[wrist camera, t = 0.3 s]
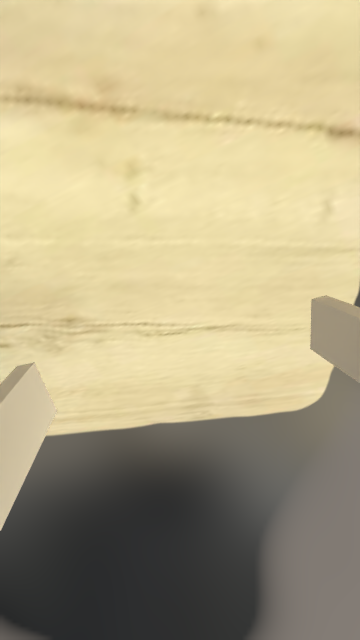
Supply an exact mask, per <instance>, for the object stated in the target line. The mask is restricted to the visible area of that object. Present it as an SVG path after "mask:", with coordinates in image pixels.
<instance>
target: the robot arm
mask: <svg viewBox="0 0 360 640" xmlns="http://www.w3.org/2000/svg"><path fill="white" fill-rule="evenodd" d="M310 349H311V350H313V351H314V352H316V353H317V354H319V355H320V356H321V357H323V358H324V359H326V360H327V361H329V362H330V363H331V364H333V365H334V366H336V367H337V368H339V369H340V370H341V371H343V372H344V373H346V374H347V375H349V376H350V377H351V378H353V379H354V380H356V381H357V382H359V383H360V307H357V306H354V305H352V304H349V303H346V302H343V301H340V300H337V299H335V298H332V297H329V296H323V297H318V298H314V299H312V302H311V344H310ZM56 412H57V409H56V407H55V405H54V403H53V401H52V399H51V396H50V394H49V392H48V390H47V388H46V386H45V384H44V382H43V380H42V377H41V375H40V373H39V371H38V369H37V367H36V365H35V363H30V364H25V365H21V366H17V367H16V368H15V369H14V370H13V371H12V372H11V373H10V374H9V375H8V376H7V377H6V378H5V380H4V381H3V382H2V383H1V384H0V531H1V528H2V526H3V524H4V522H5V520H6V518H7V515H8V513H9V512H10V509H11V507H12V505H13V503H14V501H15V499H16V497H17V495H18V493H19V490H20V488H21V486H22V484H23V482H24V480H25V478H26V475H27V474H28V471H29V469H30V467H31V465H32V463H33V461H34V459H35V457H36V454H37V452H38V450H39V448H40V446H41V444H42V442H43V439H44V438H45V436H46V433H47V431H48V429H49V427H50V425H51V423H52V421H53V419H54V417H55V414H56Z"/></svg>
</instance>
